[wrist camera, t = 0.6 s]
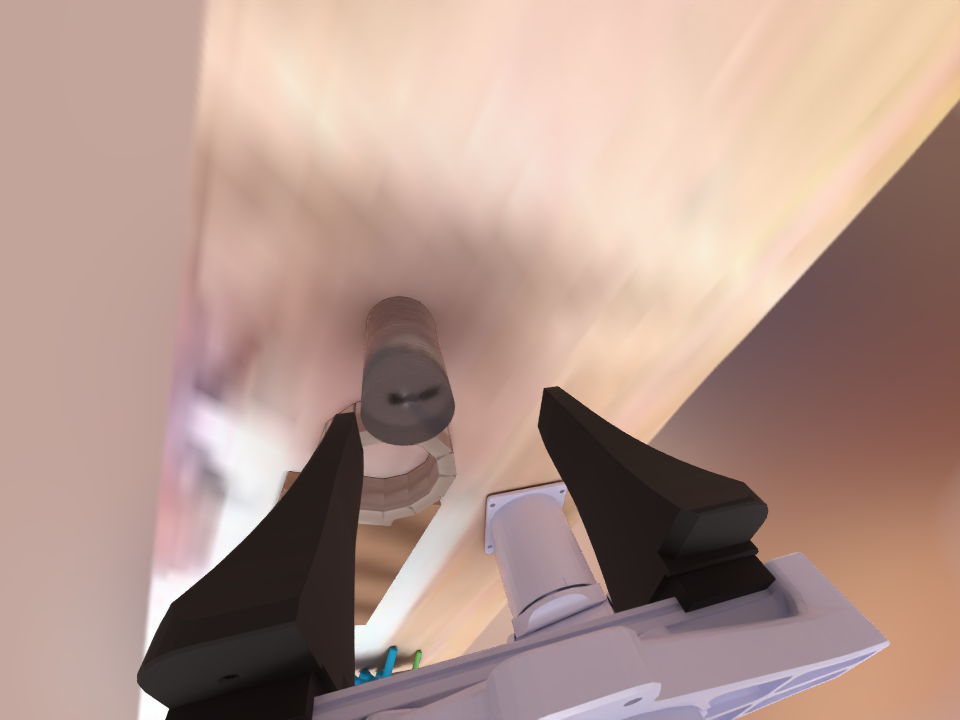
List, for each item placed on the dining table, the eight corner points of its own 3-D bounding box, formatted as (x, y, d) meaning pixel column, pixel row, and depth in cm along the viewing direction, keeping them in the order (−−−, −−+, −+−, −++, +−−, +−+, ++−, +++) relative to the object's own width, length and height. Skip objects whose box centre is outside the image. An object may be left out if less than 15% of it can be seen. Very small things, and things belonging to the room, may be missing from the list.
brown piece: (366, 609, 39) (365, 641, 37) (240, 612, 34) (229, 650, 31) (483, 417, 27) (493, 445, 25) (319, 378, 22) (312, 409, 20)
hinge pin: (434, 351, 23) (455, 438, 17) (371, 357, 23) (368, 451, 16) (431, 294, 21) (453, 368, 15) (361, 299, 20) (352, 380, 14)
